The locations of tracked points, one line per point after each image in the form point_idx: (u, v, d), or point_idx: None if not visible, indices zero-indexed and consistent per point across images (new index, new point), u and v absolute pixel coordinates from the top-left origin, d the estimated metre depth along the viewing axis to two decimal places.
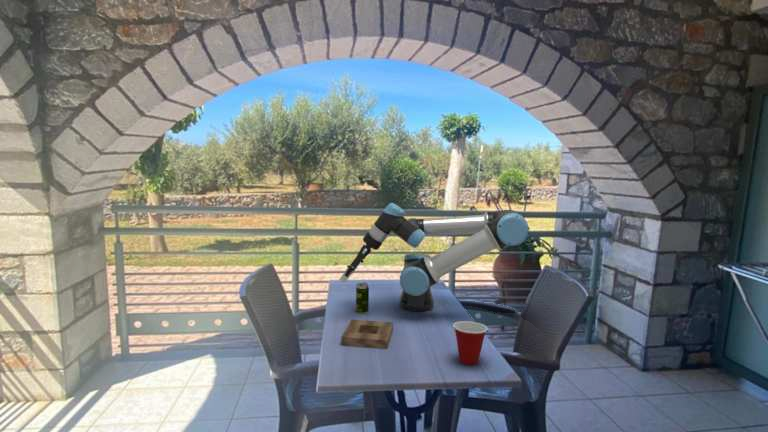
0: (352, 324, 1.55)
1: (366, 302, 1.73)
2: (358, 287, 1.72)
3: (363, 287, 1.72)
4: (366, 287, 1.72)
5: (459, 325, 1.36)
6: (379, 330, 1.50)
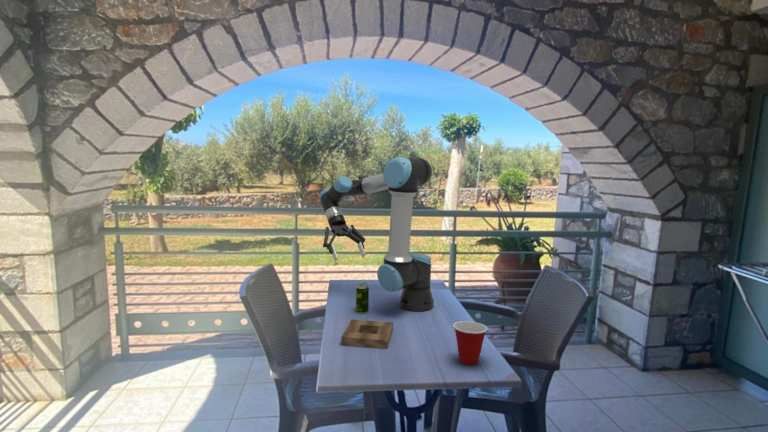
0: (352, 324, 1.55)
1: (366, 302, 1.73)
2: (358, 287, 1.72)
3: (363, 287, 1.72)
4: (366, 287, 1.72)
5: (459, 325, 1.36)
6: (379, 330, 1.50)
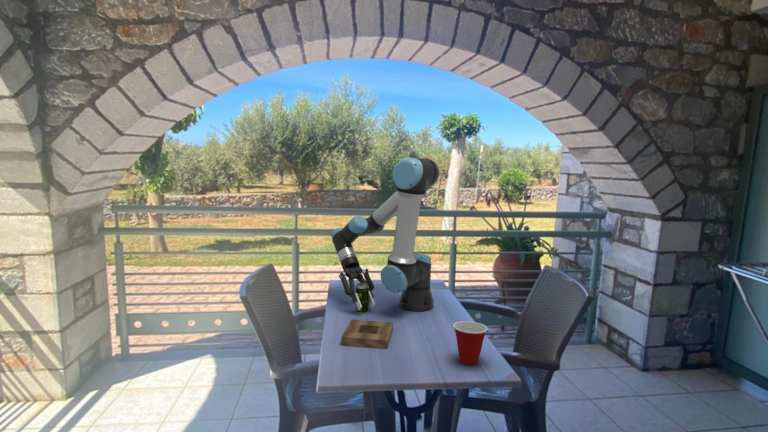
0: (352, 324, 1.55)
1: (366, 302, 1.73)
2: (358, 287, 1.72)
3: (363, 287, 1.72)
4: (366, 287, 1.72)
5: (459, 325, 1.36)
6: (379, 330, 1.50)
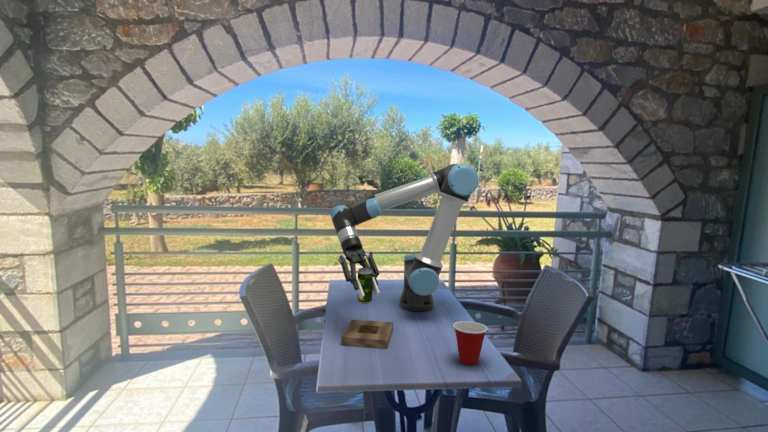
0: (352, 324, 1.55)
1: (369, 290, 1.48)
2: (360, 272, 1.47)
3: (366, 272, 1.47)
4: (369, 272, 1.47)
5: (459, 325, 1.36)
6: (379, 330, 1.50)
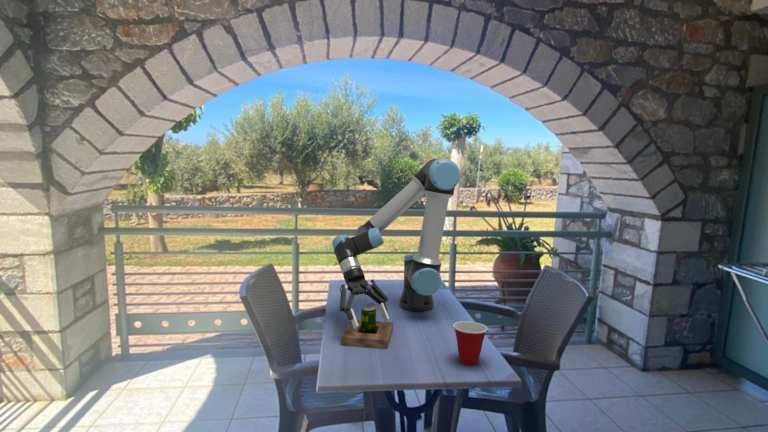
0: None
1: (373, 326, 1.49)
2: (364, 309, 1.48)
3: (369, 309, 1.47)
4: (373, 308, 1.48)
5: (459, 325, 1.36)
6: (379, 330, 1.50)
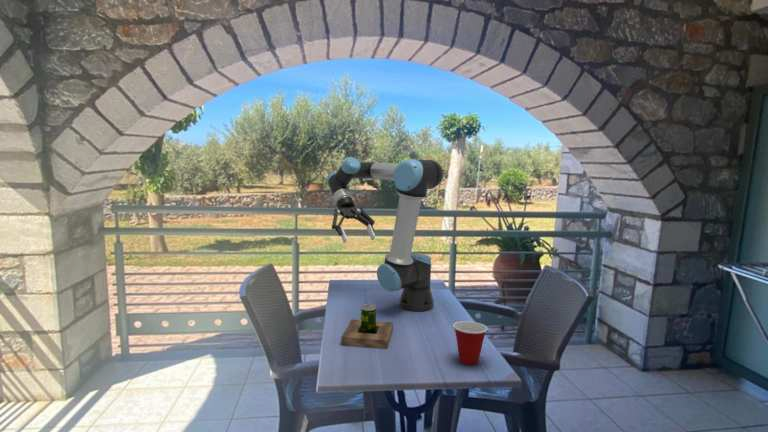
0: (352, 324, 1.55)
1: (373, 326, 1.49)
2: (364, 309, 1.48)
3: (369, 309, 1.47)
4: (373, 309, 1.48)
5: (459, 325, 1.36)
6: (379, 330, 1.50)
